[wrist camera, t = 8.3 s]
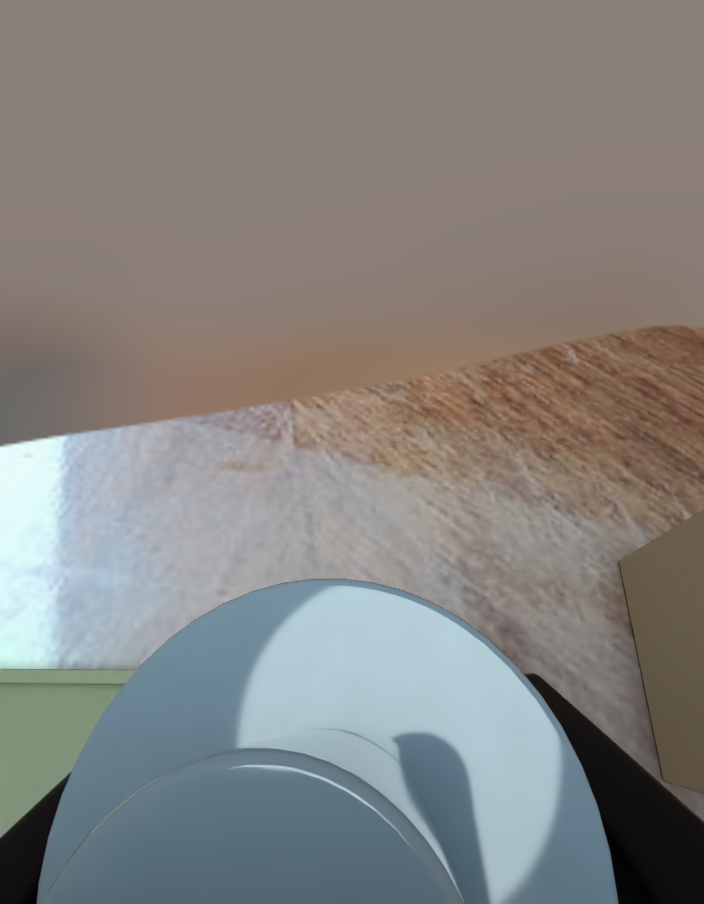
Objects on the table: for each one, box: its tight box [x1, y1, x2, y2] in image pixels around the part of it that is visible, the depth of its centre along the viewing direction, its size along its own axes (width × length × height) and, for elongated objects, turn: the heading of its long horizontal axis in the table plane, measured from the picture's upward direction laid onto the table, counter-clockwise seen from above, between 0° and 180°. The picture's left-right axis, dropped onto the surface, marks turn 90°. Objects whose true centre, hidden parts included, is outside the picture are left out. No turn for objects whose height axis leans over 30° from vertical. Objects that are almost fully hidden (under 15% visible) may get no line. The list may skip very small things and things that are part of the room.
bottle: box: [37, 579, 619, 904], centre depth 8 cm, size 6×6×12 cm
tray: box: [0, 669, 137, 837], centre depth 19 cm, size 9×9×2 cm
